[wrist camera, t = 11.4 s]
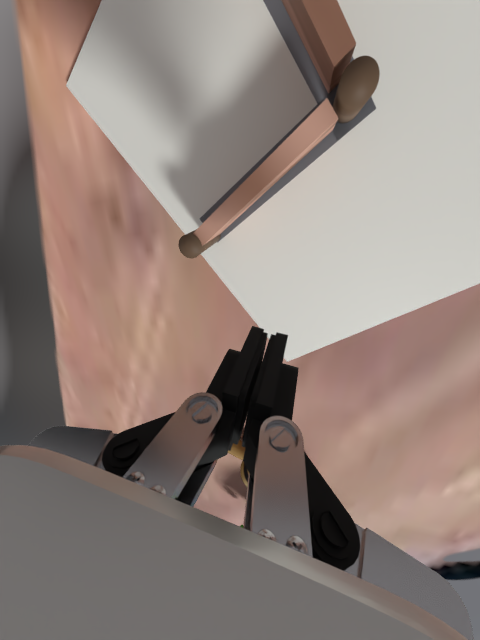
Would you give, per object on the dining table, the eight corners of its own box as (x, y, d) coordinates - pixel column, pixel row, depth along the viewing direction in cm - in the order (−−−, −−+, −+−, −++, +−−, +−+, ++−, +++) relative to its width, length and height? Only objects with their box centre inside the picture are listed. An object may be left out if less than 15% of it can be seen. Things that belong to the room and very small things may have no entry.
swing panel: (321, 110, 14) (324, 89, 11) (335, 135, 15) (342, 122, 11) (199, 231, 20) (174, 244, 17) (211, 246, 21) (190, 262, 17)
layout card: (418, -721, 6) (424, -777, 6) (615, 223, 14) (623, 225, 14) (70, 87, 18) (65, 85, 17) (287, 359, 26) (287, 361, 25)
